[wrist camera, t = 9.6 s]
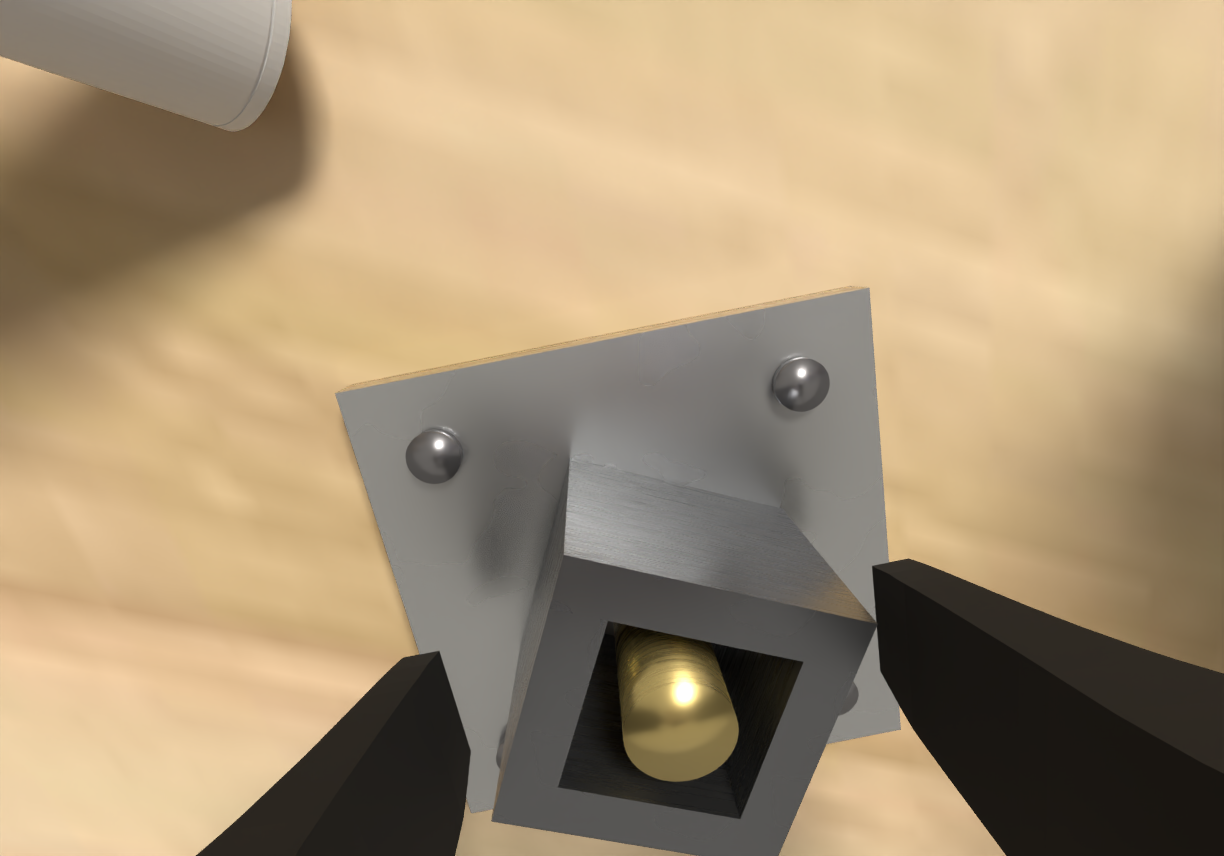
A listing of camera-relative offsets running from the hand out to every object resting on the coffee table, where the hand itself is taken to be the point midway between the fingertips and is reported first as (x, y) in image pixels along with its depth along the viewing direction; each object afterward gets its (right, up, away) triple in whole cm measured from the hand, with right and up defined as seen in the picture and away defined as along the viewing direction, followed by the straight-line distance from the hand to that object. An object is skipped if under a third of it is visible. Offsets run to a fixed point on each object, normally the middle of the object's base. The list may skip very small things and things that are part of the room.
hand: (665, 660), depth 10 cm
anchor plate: (0, +1, +3) cm, 3 cm away
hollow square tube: (0, +1, +3) cm, 3 cm away
